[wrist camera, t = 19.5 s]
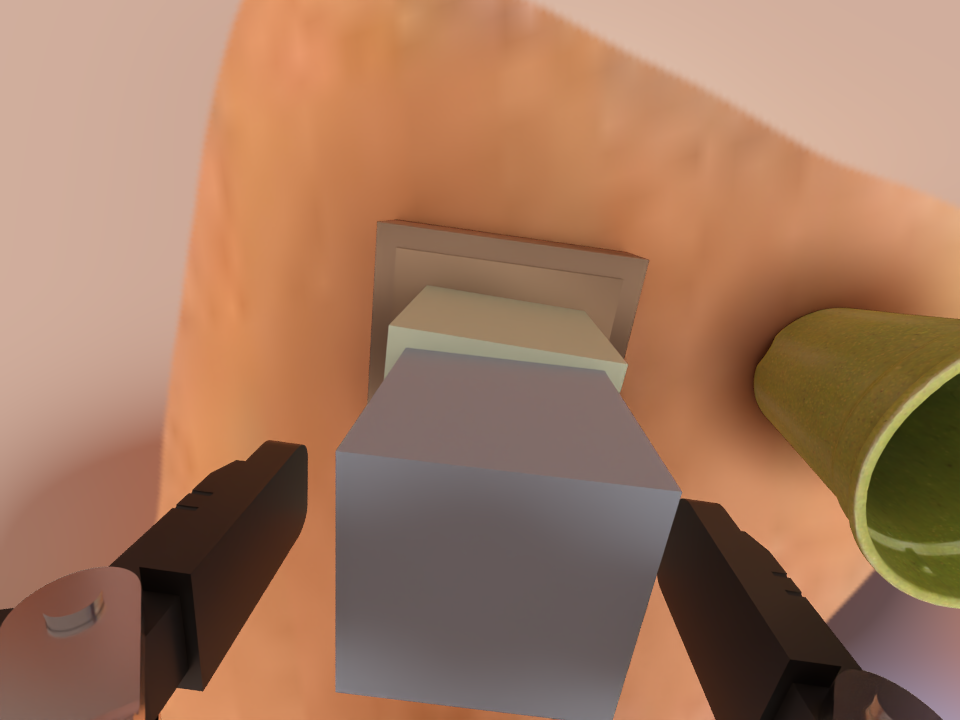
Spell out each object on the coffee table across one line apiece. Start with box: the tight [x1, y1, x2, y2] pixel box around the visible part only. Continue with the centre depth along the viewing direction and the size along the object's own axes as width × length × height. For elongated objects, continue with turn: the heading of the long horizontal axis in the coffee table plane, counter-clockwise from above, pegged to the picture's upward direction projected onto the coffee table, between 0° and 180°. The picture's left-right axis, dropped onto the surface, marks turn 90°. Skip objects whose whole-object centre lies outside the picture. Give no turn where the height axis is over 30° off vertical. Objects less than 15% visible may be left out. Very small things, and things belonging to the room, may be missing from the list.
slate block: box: [336, 348, 682, 720], centre depth 10 cm, size 5×5×5 cm
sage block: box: [384, 285, 628, 394], centre depth 15 cm, size 6×6×6 cm
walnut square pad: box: [367, 220, 649, 404], centre depth 19 cm, size 10×10×3 cm
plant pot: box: [754, 308, 960, 609], centre depth 16 cm, size 9×9×9 cm
